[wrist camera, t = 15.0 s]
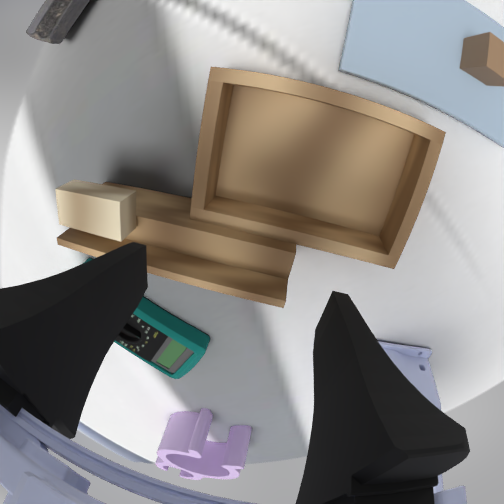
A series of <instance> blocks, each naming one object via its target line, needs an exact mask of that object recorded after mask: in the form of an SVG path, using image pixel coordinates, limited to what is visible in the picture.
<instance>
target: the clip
mask: <svg viewBox="0 0 504 504" xmlns="http://www.w3.org/2000/svg"><path fill="white" fill-rule="evenodd" d="M212 418H213V415H212V413H211V411H210V410H209V409H206V408H201V411H200V413H197V412H187V411H183V412H176V413H174V414H172V415H171V416H170V419H169V422H168V424H167V427H166V429H165V432H164V435H163V437H162V440H161V443H160V445H159V448H158V451H157V455H158V458H157V460H156V463H155V464H156V466H157V467H159V468H160V469H162V470H165V471H167V470H168V467H169V466H170V467H174V468H178V469H181V472H180V475H179V476H180V477H183V478H188V479H194V480H200V479H202V478H203V477H208V478H217V479H233V478H237V477H238V476H239V474H240V470H241V469H244V466H245V461H246V456H247V451H248V445H249V440H250V435H251V430H252V428H251V427H250V426H248V425H236V426H231V428H230V432H229V436H228V440H227V443H218V442H211V441H207V440H206V438H207V435H208V432H209V428H210V425H211V421H212Z"/></svg>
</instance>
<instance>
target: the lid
mask: <svg viewBox="0 0 504 504" xmlns="http://www.w3.org/2000/svg"><path fill="white" fill-rule="evenodd" d="M338 71H341V72H345V73H348V74H351V75H354V76H357V77H360V78H363V79H366V80H369V81H372V82H375V83H378V84H380V85H383V86H386V87H388V88H391V89H393V90H396V91H398V92H401V93H403V94H406V95H408V96H410V97H412V98H415V99H417V100H419V101H421V102H424V103H426V104H428V105H430V106H432V107H434V108H436V109H438V110H440V111H442V112H444V113H446V114H448V115H450V116H452V117H454V118H455V119H457V120H459V121H461V122H463V123H464V124H466V125H468V126H470V127H471V128H473V129H475V130H476V131H478V132H480V133H481V134H483V135H485V136H486V137H488V138H489V139H491V140H492V141H494V142H495V143H497V144H498V145H500V146H501V147H503V148H504V27H502V26H501V25H500V24H499V23H497V22H496V21H495V20H493V19H492V18H490V17H489V16H488V15H486V14H485V13H483V12H482V11H480V10H479V9H477V8H476V7H474V6H473V5H471V4H470V3H468V2H466V1H465V0H353V3H352V8H351V13H350V18H349V23H348V28H347V33H346V38H345V43H344V48H343V52H342V57H341V61H340V66H339V70H338Z"/></svg>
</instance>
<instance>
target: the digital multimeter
mask: <svg viewBox="0 0 504 504" xmlns="http://www.w3.org/2000/svg"><path fill="white" fill-rule="evenodd" d="M91 260H93V259H91V258H89V259H87V260H86V261H85V262H84V263H86V262H88V261H91ZM84 263H83V264H84ZM209 341H210V337H209V336H208V335H206V334H205V333H203V332H201V331H199V330H198V329H196V328H194V327H193V326H191V325H189V324H187V323H185V322H184V321H182V320H180V319H178V318H177V317H175V316H173V315H171V314H170V313H168V312H167V311H165V310H163V309H162V308H160V307H159V306H157V305H155V304H154V303H152V302H151V301H149V300H148V299H146V298H145V297H142V299H141V301H140V303H139V305H138V307H137V308H136V310H135V311H134V313H133V314H132V316H131V317H130V319H129V320H128V322H127V323H126V325H125V326H124V327H123V329H122V330H121V332H120V333H119V335H118V336H117V338H116V339H115V341H114V342H115V343H117V344H118V345H120V346H121V347H123V348H124V349H126V350H127V351H129V352H130V353H132V354H134V355H135V356H137V357H138V358H140V359H142V360H143V361H145V362H146V363H148V364H149V365H151V366H153V367H154V368H156V369H158V370H159V371H161V372H163V373H164V374H166V375H168V376H169V377H171V378H174V379H179V378H181V377H182V376H184V375H185V374H186V373H188V372H189V371H190V370H191V369H192V368H193V367H194V366H195V365H196V364H197V363H198V362H199V360H200V359H201V358H202V356H203V355H204V354H205V352H206V349H207V346H208V343H209ZM193 352H194V353H193Z"/></svg>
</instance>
